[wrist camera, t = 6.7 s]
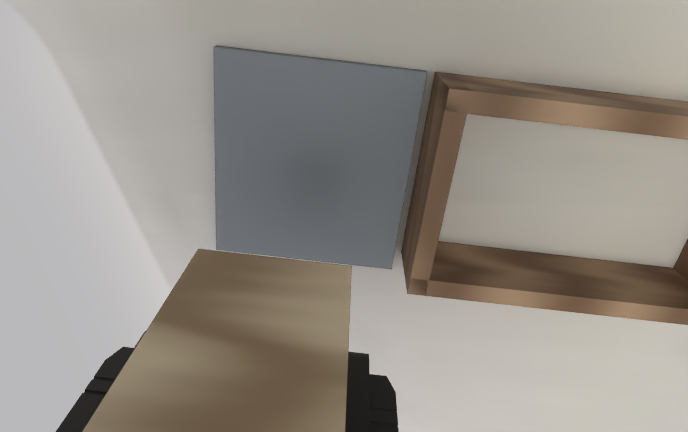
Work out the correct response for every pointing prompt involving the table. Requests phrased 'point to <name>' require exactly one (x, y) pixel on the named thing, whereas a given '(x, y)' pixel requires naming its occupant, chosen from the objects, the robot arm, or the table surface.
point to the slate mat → (312, 155)
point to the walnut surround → (519, 266)
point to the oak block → (239, 351)
